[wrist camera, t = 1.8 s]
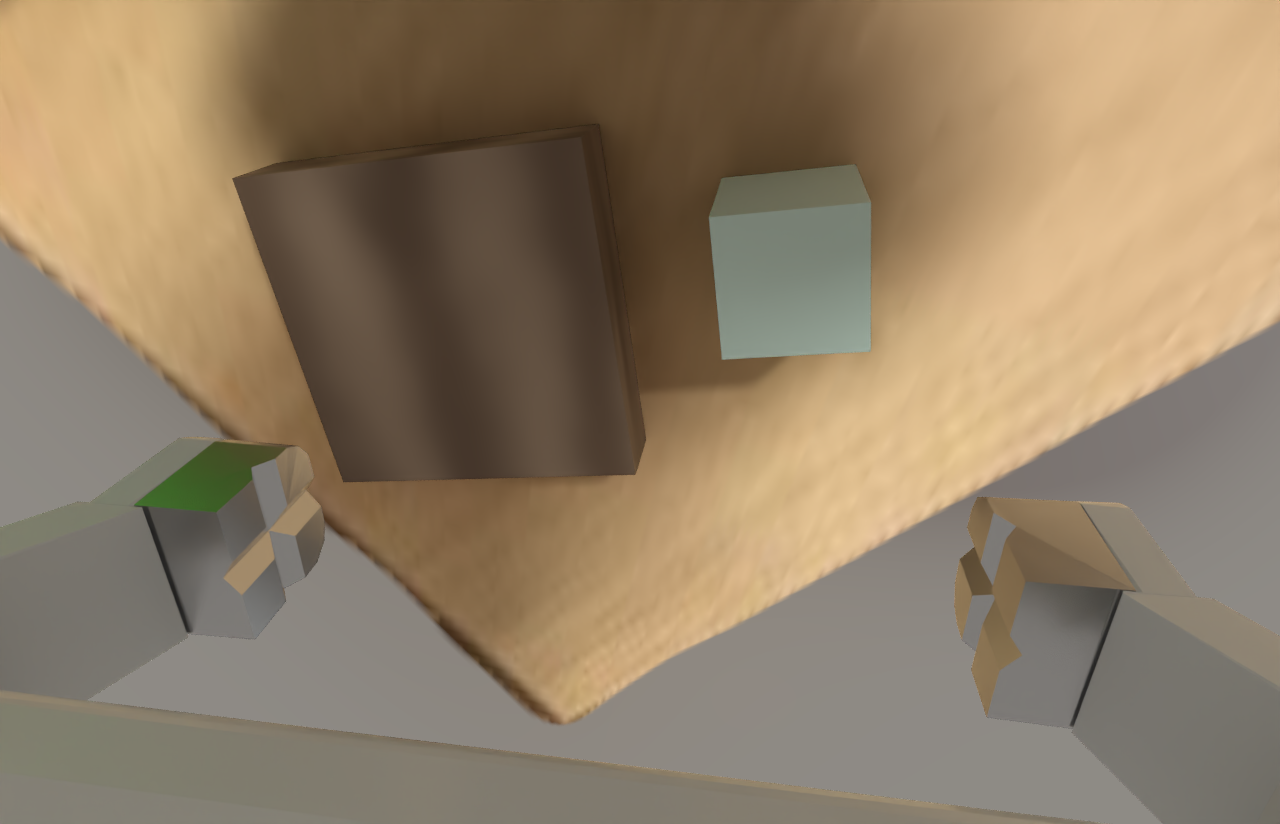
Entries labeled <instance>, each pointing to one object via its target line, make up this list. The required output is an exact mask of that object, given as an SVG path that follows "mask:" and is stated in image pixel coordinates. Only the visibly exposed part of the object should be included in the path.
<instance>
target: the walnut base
mask: <svg viewBox="0 0 1280 824" xmlns="http://www.w3.org/2000/svg"><path fill="white" fill-rule="evenodd" d="M232 179H233V182H234V184H235V187H236V190H237V193H238V195H239V198H240V201H241V203H242V206H243V209H244V212H245V214H246V217H247V220H248V223H249V225H250V228H251V231H252V233H253V236H254V239H255V242H256V244H257V247H258V250H259V253H260V255H261V258H262V261H263V263H264V266H265V269H266V272H267V274H268V277H269V280H270V283H271V285H272V288H273V291H274V293H275V296H276V299H277V302H278V304H279V307H280V310H281V313H282V315H283V318H284V321H285V324H286V326H287V329H288V332H289V334H290V337H291V340H292V343H293V345H294V348H295V351H296V354H297V356H298V359H299V362H300V364H301V367H302V370H303V373H304V375H305V378H306V381H307V384H308V386H309V389H310V392H311V394H312V397H313V400H314V403H315V405H316V408H317V411H318V414H319V416H320V419H321V422H322V424H323V427H324V430H325V433H326V435H327V438H328V441H329V444H330V446H331V449H332V452H333V454H334V457H335V460H336V463H337V465H338V468H339V471H340V474H341V476H342V479H343V482H369V481H408V480H447V479H485V478H524V477H563V476H601V475H635V474H636V471H637V468H638V464H639V461H640V458H641V455H642V451H643V448H644V445H645V441H646V436H645V429H644V423H643V416H642V409H641V402H640V396H639V389H638V382H637V376H636V369H635V362H634V356H633V349H632V342H631V336H630V329H629V322H628V316H627V309H626V302H625V296H624V289H623V282H622V276H621V269H620V262H619V256H618V249H617V242H616V236H615V229H614V222H613V216H612V209H611V202H610V196H609V189H608V182H607V176H606V169H605V162H604V156H603V149H602V142H601V136H600V129H599V124H594V125H586V126H578V127H570V128H561V129H553V130H545V131H537V132H529V133H520V134H512V135H504V136H496V137H487V138H479V139H471V140H463V141H455V142H446V143H438V144H430V145H422V146H413V147H405V148H397V149H389V150H381V151H372V152H364V153H356V154H348V155H339V156H331V157H323V158H315V159H307V160H298V161H290V162H282V163H275V164H272V165H270V166H267V167H264V168H261V169H258V170H255V171H252V172H249V173H246V174H244V175H241V176H238V177H235V178H232Z"/></svg>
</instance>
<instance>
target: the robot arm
mask: <svg viewBox="0 0 1280 824" xmlns="http://www.w3.org/2000/svg"><path fill="white" fill-rule="evenodd" d="M313 478H314V473H313V470H312V466H311V462H310V459H309V455H308V454H307V453H306V452H305V451H304V450H302V449H301V448H300V447H299V446H292V445H282V444H271V443H260V442H250V441H239V440H224V439H221V438H204V437H186V438H178V439H177V440H176V441H174V442H173V443H171V444H170V445H169V446H167V447H166V448H165V449H163V450H162V451H160V452H159V453H158V454H156V455H155V456H153V457H152V458H151V459H149V460H148V461H146V462H145V463H144V464H142V465H141V466H139V467H138V468H137V469H135V470H134V471H133V472H131V473H130V474H129V475H127V476H126V477H124V478H123V479H122V480H120V481H119V482H117V483H116V484H114V485H113V486H112V487H110V488H109V489H108V490H106V491H105V492H103V493H102V494H101V495H99V496H98V497H96V498H95V499H94V500H92V501H91V502H90V503H89V502H75V503H72V504H69V505H67V506H63V507H60V508H57V509H54V510H51V511H48V512H45V513H42V514H39V515H36V516H33V517H30V518H27V519H24V520H22V521H18V522H15V523H12V524H9V525H6V526H3V527H0V824H1107V823H1098V822H1090V821H1081V820H1073V819H1064V818H1056V817H1047V816H1038V815H1030V814H1021V813H1013V812H1005V811H997V810H987V809H980V808H971V807H964V806H955V805H946V804H939V803H931V802H922V801H915V800H906V799H898V798H890V797H882V796H874V795H866V794H865V795H864V794H857V793H848V792H841V791H832V790H824V789H816V788H808V787H800V786H792V785H783V784H775V783H767V782H759V781H751V780H742V779H735V778H726V777H717V776H710V775H701V774H694V773H685V772H677V771H669V770H660V769H652V768H644V767H636V766H628V765H619V764H611V763H603V762H594V761H586V760H578V759H570V758H561V757H553V756H544V755H536V754H528V753H519V752H510V751H503V750H494V749H486V748H477V747H469V746H460V745H452V744H444V743H436V742H427V741H419V740H410V739H402V738H394V737H385V736H377V735H368V734H360V733H352V732H343V731H335V730H327V729H318V728H309V727H302V726H293V725H284V724H277V723H269V722H260V721H252V720H244V719H236V718H227V717H219V716H210V715H202V714H194V713H186V712H178V711H169V710H161V709H153V708H145V707H136V706H128V705H120V704H112V703H104V702H96V701H87V700H88V699H89V698H91V697H93V696H94V695H96V694H97V693H99V692H101V691H102V690H104V689H106V688H107V687H109V686H110V685H112V684H114V683H115V682H117V681H119V680H120V679H122V678H123V677H125V676H127V675H128V674H130V673H132V672H133V671H135V670H136V669H138V668H140V667H141V666H143V665H144V664H146V663H148V662H149V661H151V660H153V659H154V658H156V657H157V656H159V655H161V654H162V653H164V652H166V651H167V650H169V649H170V648H172V647H174V646H175V645H177V644H179V643H180V642H182V641H183V640H185V639H187V638H188V634H194V635H206V636H219V637H232V638H245V639H256V638H257V636H258V635H259V634H260V633H261V632H262V630H263V629H264V628H265V627H266V625H267V624H268V623H269V622H270V620H271V619H272V618H273V617H274V616H275V614H276V613H277V612H278V611H279V609H280V608H281V607H282V606H283V604H284V603H285V602H286V598H285V592H284V588H286V587H288V586H290V585H292V584H294V583H296V582H297V581H299V580H301V579H303V578H305V577H306V576H307V575H308V573H309V572H310V571H311V569H312V568H313V567H314V565H315V564H316V563H317V561H318V558H319V555H320V552H321V549H322V546H323V543H324V533H325V522H324V517H323V512H322V508H321V505H320V504H319V503H318V502H317V501H316V500H315V499H314V498H313V497H312V496H311V495H310V494H309V493H308V491H307V489H308V487H309V485H310V483H311V482H312V480H313ZM967 528H968V531H969V533H970V536H971V538H972V541H973V544H974V548H973V549H971V550H970V551H969V552H968V553H966V555H964V556H963V557H962V558H961V559H960V560H959V566H958V571H957V576H956V581H955V603H954V607H955V614H956V620H957V625H958V629H959V632H960V635H961V639H962V641H964V642H965V643H966V644H967V645H968V646H970V647H971V648H972V649H973V650H975V651H976V653H975V657H974V661H973V665H972V668H971V670H972V674H973V677H974V680H975V683H976V686H977V689H978V692H979V695H980V698H981V702H982V704H983V707H984V711H985V714H986V717H987V718H995V719H1002V720H1010V721H1017V722H1025V723H1032V724H1040V725H1047V726H1055V727H1063V728H1070V729H1073V730H1072V733H1073V734H1074V735H1075V736H1076V737H1077V738H1078V739H1079V740H1080V741H1081V742H1082V743H1083V744H1084V745H1085V746H1086V747H1087V748H1088V749H1089V750H1090V751H1091V752H1092V753H1093V754H1094V755H1095V756H1096V757H1097V758H1098V759H1099V760H1100V761H1101V762H1102V763H1103V764H1104V765H1105V766H1106V767H1107V768H1108V769H1109V770H1110V771H1111V772H1112V773H1113V774H1114V775H1115V776H1116V777H1117V778H1118V779H1119V780H1120V781H1121V782H1122V783H1123V784H1124V785H1125V786H1126V787H1127V788H1128V789H1129V790H1130V791H1131V792H1132V793H1133V794H1134V795H1135V796H1136V797H1137V798H1138V799H1139V800H1140V801H1141V802H1142V803H1143V804H1144V805H1145V806H1146V807H1147V808H1148V809H1149V810H1150V811H1151V812H1152V813H1153V814H1154V815H1155V816H1156V817H1157V818H1158V819H1159V820H1160V821H1161V822H1162V823H1163V824H1280V636H1279V635H1277V634H1275V633H1273V632H1272V631H1270V630H1268V629H1266V628H1264V627H1263V626H1261V625H1259V624H1257V623H1255V622H1253V621H1252V620H1250V619H1248V618H1247V617H1245V616H1243V615H1241V614H1240V613H1238V612H1236V611H1234V610H1232V609H1231V608H1229V607H1227V606H1225V605H1224V604H1222V603H1220V602H1218V601H1216V600H1215V599H1209V598H1199V597H1196V596H1195V594H1194V593H1193V591H1192V590H1191V589H1190V587H1189V586H1188V585H1187V583H1186V582H1185V581H1184V579H1183V578H1182V577H1181V575H1180V574H1179V573H1178V572H1177V570H1176V569H1175V567H1174V566H1173V565H1172V563H1171V562H1170V561H1169V559H1168V558H1167V557H1166V555H1165V554H1164V553H1163V551H1162V550H1161V549H1160V548H1159V546H1158V545H1157V543H1156V542H1155V541H1154V539H1153V538H1152V537H1151V535H1150V534H1149V533H1148V531H1147V530H1146V529H1145V527H1144V526H1143V525H1142V523H1141V522H1140V521H1139V519H1138V518H1137V516H1136V515H1135V514H1134V513H1133V511H1132V510H1131V509H1130V508H1129V507H1127V506H1125V505H1123V504H1121V503H1103V502H1078V501H1053V500H1033V499H1013V498H993V497H977V500H976V501H975V503H974V506H973V508H972V510H971V514H970V519H969V522H968V526H967Z"/></svg>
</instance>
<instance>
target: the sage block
mask: <svg viewBox="0 0 1280 824" xmlns="http://www.w3.org/2000/svg"><path fill="white" fill-rule="evenodd" d="M709 225H710V236H711V246H712V257H713V268H714V279H715V290H716V300H717V311H718V322H719V333H720V343H721V354H722V360H725V359H743V358H761V357H779V356H797V355H815V354H834V353H852V352H870V351H871V201H870V198H869V196H868V193H867V191H866V188H865V186H864V183H863V181H862V178H861V176H860V173H859V171H858V169H857V166H856V164H852V165H842V166H833V167H823V168H813V169H804V170H794V171H784V172H774V173H765V174H755V175H745V176H736V177H726V178H722V179H721V182H720V185H719V188H718V191H717V194H716V197H715V200H714V203H713V206H712V209H711V212H710V215H709Z"/></svg>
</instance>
